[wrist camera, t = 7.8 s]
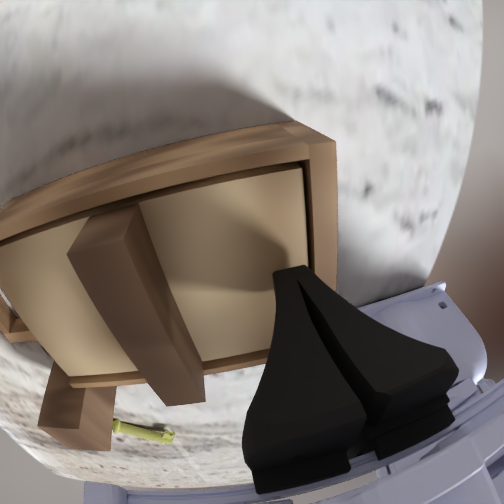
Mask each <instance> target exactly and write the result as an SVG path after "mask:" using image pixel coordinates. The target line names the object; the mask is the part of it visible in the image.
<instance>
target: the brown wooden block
mask: <svg viewBox="0 0 504 504" xmlns="http://www.w3.org/2000/svg"><path fill="white" fill-rule="evenodd" d="M70 378H71V376H68V375H67V374H66V373H65V372H64V370H63V369H62V368H61V367H60V366H59V365H58V364H57V363H56V362H55V360H54V363H53V366H52V369H51V373H50V376H49V380H48V384H47V387H46V391H45V395H44V399H43V403H42V407H41V412H40V416H39V421H38V427H39V428H41V429H42V430H43V431H45V432H46V433H48V434H49V435H50V436H52V437H53V438H55V439H56V440H58V441H59V442H61V443H62V444H64V445H65V446H67V447H68V448H71V449H82V450H96V451H110V450H111V435H112V423H113V413H114V404H115V395H116V387H117V386H107V387H89V388H73V387H72V386H71V385H70V384H69V382H70Z"/></svg>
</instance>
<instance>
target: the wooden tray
mask: <svg viewBox="0 0 504 504" xmlns="http://www.w3.org/2000/svg"><path fill="white" fill-rule="evenodd" d="M290 162H296V163H297V164H298V165H299V166H300V167H301V168H302V173H303V186H304V199H305V214H306V231H307V251H308V268H309V269H310V270H311V271H312V272H314V273H315V274H316V275H317V276H318V277H319V278H320V279H321V280H322V281H323V282H324V283H326V284H327V285H328V286H329V287H330V288H331V289H333V290H334V291H335V292H336V278H337V247H338V187H337V156H336V141H334V140H332V139H330V138H329V137H327V136H325V135H323V134H321V133H319V132H317V131H315V130H314V129H312V128H310V127H308V126H306V125H304V124H302V123H300V122H298V121H290V122H282V123H275V124H268V125H261V126H255V127H249V128H243V129H238V130H232V131H227V132H222V133H217V134H212V135H207V136H203V137H198V138H194V139H189V140H185V141H181V142H177V143H173V144H169V145H165V146H161V147H157V148H153V149H150V150H146V151H143V152H139V153H136V154H132V155H129V156H126V157H122V158H119V159H116V160H113V161H110V162H107V163H104V164H101V165H98V166H95V167H92V168H89V169H86V170H83V171H80V172H78V173H75V174H72V175H70V176H67V177H64V178H62V179H59V180H57V181H54V182H52V183H49V184H47V185H44V186H42V187H39V188H37V189H35V190H32V191H30V192H28V193H26V194H23V195H21V196H19V197H17V198H15V199H12V200H11V201H9V202H8V203H7V204H6V205H5V206H4V207H3V208H2V209H1V210H0V241H1V240H4V239H6V238H9V237H11V236H14V235H16V234H19V233H22V232H24V231H27V230H30V229H32V228H35V227H38V226H41V225H43V224H46V223H49V222H52V221H55V220H58V219H61V218H64V217H67V216H70V215H73V214H76V213H79V212H82V211H85V210H89V209H92V208H95V207H98V206H102V205H105V204H108V203H112V202H115V201H119V200H122V199H126V198H129V197H133V196H137V195H140V194H144V193H148V192H152V191H156V190H160V189H163V188H167V187H172V186H176V185H180V184H184V183H188V182H193V181H197V180H202V179H206V178H211V177H215V176H220V175H225V174H230V173H235V172H240V171H245V170H250V169H256V168H261V167H267V166H272V165H278V164H284V163H290ZM0 330H1V332H2V333H3V334H4V336H5V337H6V338H7V339H8V341H9V342H10V343H17V342H27V341H36V340H37V339H36V338H35V336H34V335H33V334H32V332H31V331H30V330H29V328H28V327H27V326H26V325H25V323H24V322H23V320H22V319H21V318H16V317H15V316H14V314H13V313H12V311H11V310H10V309H9V307H8V306H7V304H6V303H5V301H4V300H3V298H2V297H1V295H0ZM269 350H270V348H268V349H264V350H259V351H255V352H250V353H245V354H240V355H235V356H230V357H225V358H220V359H214V360H209V361H203V375H209V374H215V373H221V372H226V371H232V370H237V369H242V368H247V367H252V366H256V365H261V364H266V362H267V358H268V354H269ZM143 383H147V381H146V380H145V379H144V377H143V376H142V375H141V374H140V372H139V371H131V372H121V373H111V374H99V375H84V376H71V378H70V382H69V384H70V385H71V386H72V387H73V388H89V387H107V386H121V385H133V384H143Z"/></svg>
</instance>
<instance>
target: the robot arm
mask: <svg viewBox="0 0 504 504" xmlns="http://www.w3.org/2000/svg"><path fill="white" fill-rule="evenodd" d="M272 277H273V285H274V292H275V300H276V313H275V323H274V330H273V336H272V341H271V346H270V350H269V354H268V358H267V362H266V365H265V369H264V372H263V375H262V377H261V380H260V383H259V386H258V389H257V391H256V393H255V396H254V398H253V400H252V402H251V405H250V407H249V409H248V411H247V415H246V420H245V425H244V430H243V436H242V450H243V455H244V460H245V463H246V464H247V466H248V467H249V468H250V470H251V471H252V476H253V481H254V484H248V485H242V486H235V487H226V488H217V489H205V490H189V491H137V490H136V491H135V490H126V489H124V488H122V487H120V486H117V485H113V484H106V483H97V482H89V481H86V482H84V504H252V503H256V504H293V501H292V500H290V499H289V500H281V501H273V502H265V501H270V500H276V499H281V498H285V497H290V496H295V495H299V494H303V493H307V492H311V491H315V490H318V489H322V488H325V487H329V486H332V485H335V484H338V483H342V482H345V481H348V480H351V479H353V478H356V477H359V476H362V475H365V474H367V473H370V472H372V471H375V470H376V474H377V479H378V480H376V481H374V482H371V483H369V484H367V485H364V486H361V487H359V488H356V489H353V490H351V491H348V492H345V493H342V494H340V495H337V496H334V497H331V498H327V499H325V500H321V501H318V502H315V503H311V504H504V379H503V380H501V381H500V382H499V383H497V384H495V382H494V381H493V380H491V379H486V380H485V379H484V378H483V376H484V374H485V371H486V366H487V355H486V350H485V347H484V344H483V341H482V339H481V337H480V336H479V334H478V333H477V331H476V330H475V329H474V328H473V326H472V325H471V324H470V322H469V321H468V320H467V319H466V317H465V316H464V315H463V313H462V312H461V311H460V310H459V308H458V307H457V306H456V305H455V304H454V302H453V301H452V300H451V299H450V298H449V296H448V295H447V294H446V293H445V292H444V290H445V287H446V283H445V282H444V281H443V280H442V281H439V282H436V283H433V284H430V285H428V286H425V287H422V288H419V289H416V290H413V291H410V292H407V293H404V294H401V295H398V296H395V297H392V298H389V299H386V300H382V301H379V302H376V303H373V304H369V305H366V306H363V307H359V308H356V307H354V306H353V305H352V304H350V303H349V302H347V301H346V300H345V299H344V298H342V297H341V296H340V295H339V294H337V293H336V292H335V291H334V290H333V289H331V288H330V287H329V286H328V285H327V284H326V283H324V282H323V281H322V280H321V279H320V278H319V277H318V276H317V275H316V274H315V273H314V272H312V271H311V270H310V269H309V268H308V267H307V266H306V265H300V266H295V267H291V268H286V269H282V270H277V271H274V272H273V274H272ZM477 384H478V386H479V388H480V390H481V391H482V394H481V393H480V391H479V390H478V388H477V386H476V385H477ZM259 502H263V503H259Z"/></svg>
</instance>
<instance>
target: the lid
mask: <svg viewBox="0 0 504 504" xmlns="http://www.w3.org/2000/svg"><path fill="white" fill-rule="evenodd" d="M300 265H306V266H307V267H308V251H307V231H306V214H305V199H304V186H303V173H302V168H301V167H300V166H299V165H298V164H297V163H296V162H290V163H284V164H278V165H272V166H267V167H261V168H256V169H250V170H245V171H240V172H235V173H230V174H225V175H220V176H215V177H211V178H206V179H202V180H197V181H193V182H188V183H184V184H180V185H176V186H172V187H167V188H163V189H160V190H156V191H152V192H148V193H144V194H140V195H137V196H133V197H129V198H126V199H122V200H119V201H115V202H112V203H108V204H105V205H102V206H98V207H95V208H92V209H89V210H85V211H82V212H79V213H76V214H73V215H70V216H67V217H64V218H61V219H58V220H55V221H52V222H49V223H46V224H43V225H41V226H38V227H35V228H32V229H30V230H27V231H24V232H22V233H19V234H16V235H14V236H11V237H9V238H6V239H4V240H1V241H0V288H1V290H2V291H3V293H4V294H5V296H6V297H7V299H8V300H9V302H10V303H11V305H12V306H13V308H14V309H15V311H16V312H17V313H18V315H19V316H20V318H21V319H22V320H23V322H24V323H25V325H26V326H27V327H28V328H29V330H30V331H31V332H32V334H33V335H34V336H35V338H36V339H37V340H38V341H39V343H40V344H41V345H42V346H43V347H44V349H45V350H46V351H47V352H48V353H49V355H50V356H51V357H52V358H53V359H54V360H55V362H56V363H57V364H58V365H59V366H60V367H61V368H62V369H63V370H64V372H65V373H66V374H67V375H68V376H84V375H99V374H111V373H121V372H131V371H139V372H140V374H141V375H142V376H143V377H144V379H145V380H146V381H147V383H148V384H149V385H150V386H151V388H152V389H153V390H154V392H155V393H156V394H157V395H158V396H159V398H160V399H161V400H162V401H163V403H164V404H165V405H166V406H176V405H185V404H193V403H200V402H206V400H205V388H204V375H203V361H209V360H214V359H220V358H225V357H230V356H235V355H240V354H245V353H250V352H255V351H259V350H264V349H268V348H270V346H271V341H272V336H273V330H274V323H275V313H276V300H275V292H274V285H273V277H272V274H273V272H274V271H277V270H282V269H286V268H291V267H295V266H300Z"/></svg>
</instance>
